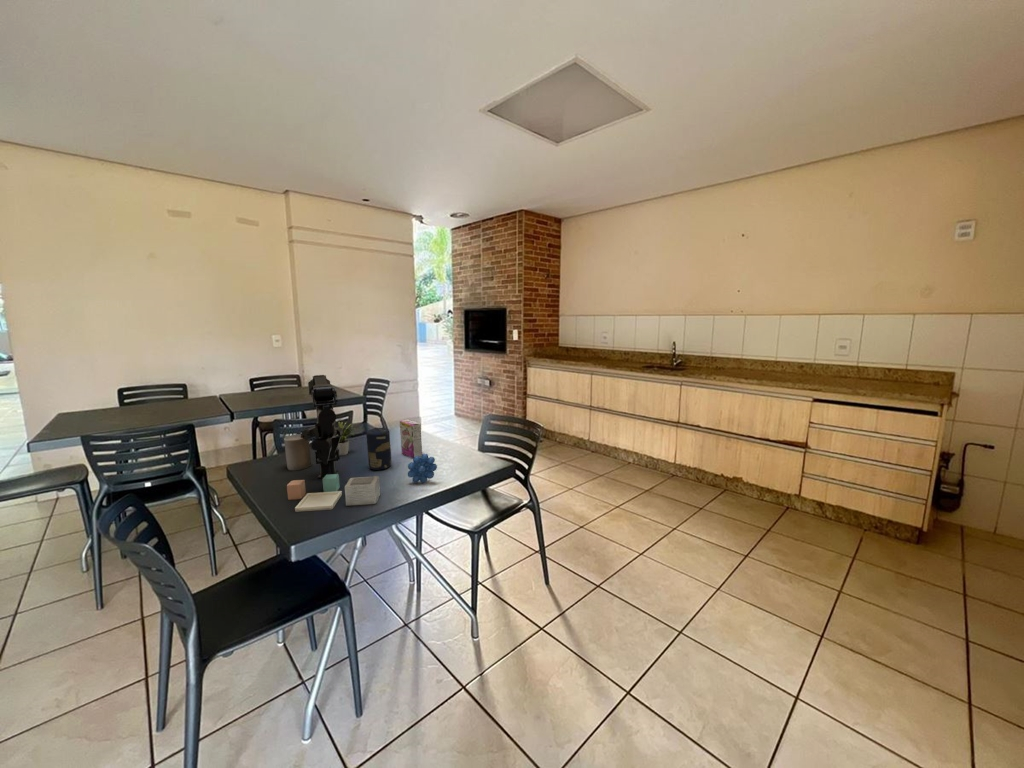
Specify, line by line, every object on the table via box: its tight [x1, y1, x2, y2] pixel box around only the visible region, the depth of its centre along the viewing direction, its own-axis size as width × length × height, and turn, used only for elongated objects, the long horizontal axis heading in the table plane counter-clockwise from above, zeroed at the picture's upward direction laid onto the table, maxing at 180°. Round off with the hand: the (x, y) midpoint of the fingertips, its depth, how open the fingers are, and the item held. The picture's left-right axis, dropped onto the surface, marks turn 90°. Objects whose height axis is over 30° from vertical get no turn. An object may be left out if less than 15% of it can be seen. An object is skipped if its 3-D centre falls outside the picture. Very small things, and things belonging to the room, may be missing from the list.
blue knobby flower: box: [407, 453, 438, 484], centre depth 161 cm, size 12×7×12 cm, turn 92°
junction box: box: [344, 475, 381, 507], centre depth 146 cm, size 8×10×7 cm
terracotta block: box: [286, 479, 307, 501], centre depth 150 cm, size 4×4×6 cm
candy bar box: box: [399, 419, 423, 459], centre depth 193 cm, size 11×5×16 cm, turn 45°
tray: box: [294, 490, 343, 513], centre depth 144 cm, size 12×12×1 cm
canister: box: [365, 427, 392, 471], centre depth 177 cm, size 10×10×18 cm
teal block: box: [322, 473, 340, 492], centre depth 155 cm, size 4×4×6 cm
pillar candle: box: [283, 433, 313, 471], centre depth 180 cm, size 10×10×15 cm
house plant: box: [335, 421, 356, 457], centre depth 195 cm, size 14×14×16 cm
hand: (329, 459), depth 153 cm, fingers open, 9 cm apart
